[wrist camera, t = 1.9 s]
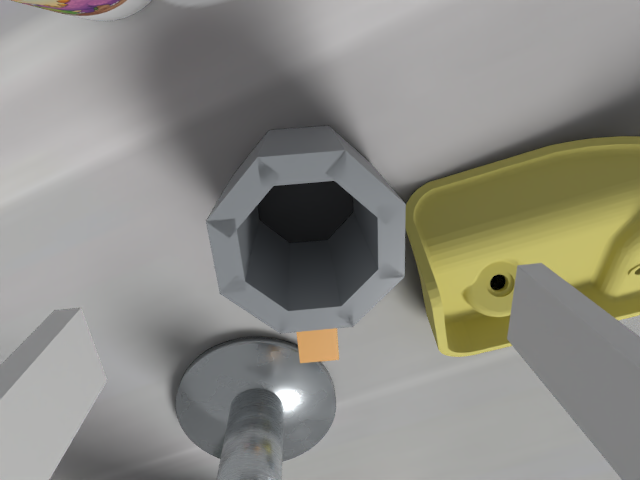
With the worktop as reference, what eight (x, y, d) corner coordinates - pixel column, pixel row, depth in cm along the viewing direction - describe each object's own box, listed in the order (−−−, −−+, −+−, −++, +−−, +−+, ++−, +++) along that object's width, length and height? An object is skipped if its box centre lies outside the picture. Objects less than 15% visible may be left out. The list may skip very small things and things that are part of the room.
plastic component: (440, 362, 28) (429, 289, 20) (411, 277, 33) (393, 192, 25) (753, 288, 25) (873, 171, 18) (671, 206, 30) (737, 88, 22)
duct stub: (330, 329, 29) (343, 418, 21) (338, 448, 33) (351, 554, 26) (162, 345, 28) (116, 441, 21) (195, 463, 33) (166, 575, 26)
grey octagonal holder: (370, 121, 23) (406, 145, 16) (373, 282, 27) (403, 360, 20) (226, 133, 23) (194, 162, 16) (251, 293, 27) (235, 376, 20)
